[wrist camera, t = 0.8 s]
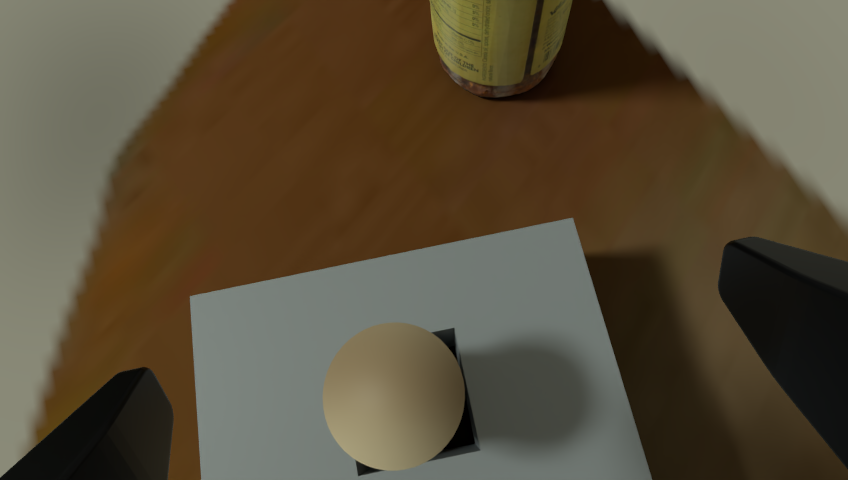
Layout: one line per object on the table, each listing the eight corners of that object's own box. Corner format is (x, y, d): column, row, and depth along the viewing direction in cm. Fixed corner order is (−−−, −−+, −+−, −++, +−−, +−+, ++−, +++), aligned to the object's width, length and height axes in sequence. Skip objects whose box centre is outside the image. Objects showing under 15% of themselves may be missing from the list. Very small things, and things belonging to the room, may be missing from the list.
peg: (472, 443, 18) (479, 453, 13) (367, 465, 18) (333, 484, 13) (449, 338, 20) (448, 310, 14) (351, 358, 20) (314, 337, 14)
